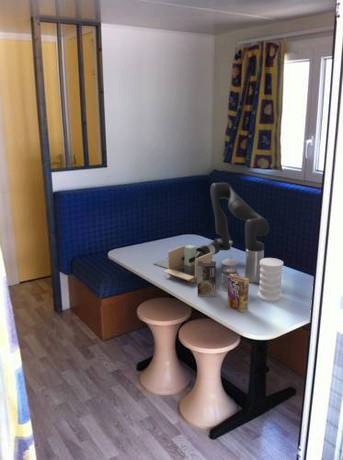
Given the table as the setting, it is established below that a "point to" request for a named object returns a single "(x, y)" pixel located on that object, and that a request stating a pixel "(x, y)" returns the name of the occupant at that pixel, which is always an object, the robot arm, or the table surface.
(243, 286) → the candy box
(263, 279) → the decorative container
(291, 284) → the table surface
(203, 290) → the coffee box
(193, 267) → the box
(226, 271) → the french press
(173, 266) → the carton
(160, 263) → the mat
